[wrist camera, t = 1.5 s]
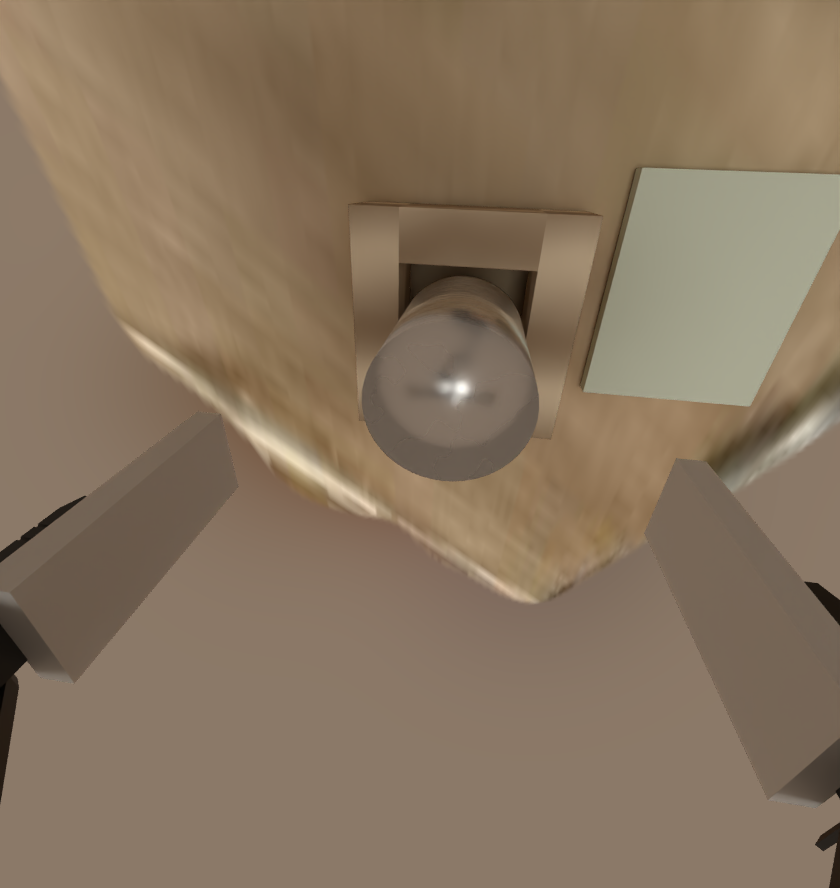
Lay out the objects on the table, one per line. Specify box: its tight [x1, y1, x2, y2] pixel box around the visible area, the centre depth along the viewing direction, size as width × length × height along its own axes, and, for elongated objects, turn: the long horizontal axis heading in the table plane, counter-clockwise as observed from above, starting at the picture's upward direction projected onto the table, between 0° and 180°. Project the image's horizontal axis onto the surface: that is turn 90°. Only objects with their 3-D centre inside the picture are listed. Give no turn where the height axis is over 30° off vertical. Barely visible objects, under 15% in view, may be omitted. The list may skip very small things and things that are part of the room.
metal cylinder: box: [362, 276, 539, 481], centre depth 21 cm, size 6×6×13 cm
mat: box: [580, 168, 840, 406], centre depth 24 cm, size 12×10×1 cm
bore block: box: [348, 201, 603, 440], centre depth 25 cm, size 12×12×4 cm
